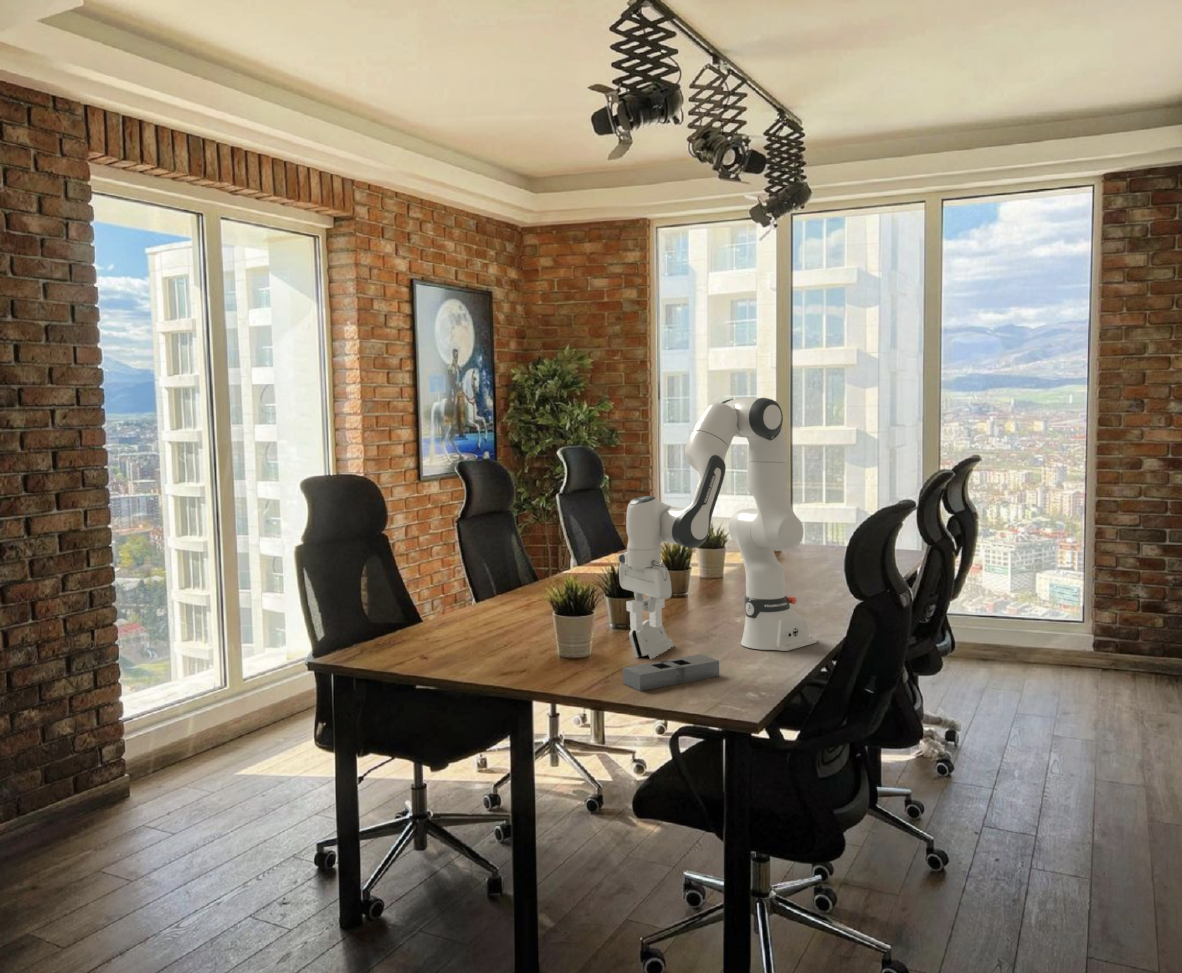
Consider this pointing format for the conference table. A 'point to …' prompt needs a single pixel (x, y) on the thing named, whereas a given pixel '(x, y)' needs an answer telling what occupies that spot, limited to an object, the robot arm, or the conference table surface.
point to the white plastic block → (649, 641)
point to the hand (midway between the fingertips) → (645, 610)
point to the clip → (637, 617)
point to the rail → (670, 672)
